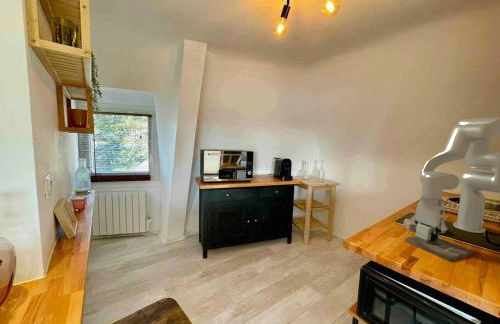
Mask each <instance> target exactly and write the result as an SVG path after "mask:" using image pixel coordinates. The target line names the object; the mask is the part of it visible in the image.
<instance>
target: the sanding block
mask: <svg viewBox="0 0 500 324" xmlns="http://www.w3.org/2000/svg"><path fill="white" fill-rule="evenodd" d="M439 229H440V226H439ZM431 233H433V231H432V226H429V225H426V224H423V223H422V224H417V227H416V231H415V235H414V236H415V239H417V240H420V241H422V242H424V243H431V242H432V241H431ZM439 235H440V234H439V233H438V238H440V237H439ZM438 238H437V240H436V241H438ZM433 242H435V241H433Z"/></svg>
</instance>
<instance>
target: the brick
mask: <svg viewBox="0 0 500 324" xmlns="http://www.w3.org/2000/svg"><path fill="white" fill-rule="evenodd" d="M403 227H405V228H406V229H407V231H411V232H416V227H417V225H416V224H415V222H414V221H413V220H412V218H405V219H404V220H403ZM440 228H441V226H440ZM446 232H447V230H445V231H442V232H440V233H441V234H442V235H443V234H446ZM441 234H440V235H441Z"/></svg>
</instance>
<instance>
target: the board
mask: <svg viewBox="0 0 500 324" xmlns="http://www.w3.org/2000/svg"><path fill="white" fill-rule="evenodd" d="M415 236H416V235H414V236H410V237H405V239H404V242H406V243H408V244H410V245H412V246H414V247H417V248H419V249H422V250H423V251H426V252H428V253H430V254H431V255H435V256H436V257H438V258H441V259H444V260H446V261H448V262H452V261H455V260H459V259H462V258H465V257H470V256H471V255H474V250H472V249H469V248H466V247H464V246H462V245H459V244H456V243H455V242H451V241H449V240H446V239H443V238H442V237H438V241H435V242H431V243H424V242H422V241H420V240H417V239H415Z"/></svg>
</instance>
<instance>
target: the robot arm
mask: <svg viewBox="0 0 500 324" xmlns="http://www.w3.org/2000/svg"><path fill="white" fill-rule="evenodd" d="M498 137H500V117H499V116H498V117H474V118H464V119H461V120H459V121H458V122H457V123H456V125H455V126H454V127H452V129H451V131H450V133H449V135H448V137H447V140H446V142H445V145H444V147H443V149H442V150H441V152H438V153H436V154H435V155H434V156H432V157H431V158H430V159H429V160H427V161H426V163H424V165H423V167H422V170H421V173H420V175H419V181H420V183H421V184H422V185H421V192H420V193H421V194H420V201H418V203H417V206H416V211H415V213H414V215H412V216H411V217H410V219H412V220H413V221H414V222H415V224H416V225H417V224H422V223H423V224H426V225H429V226H432V231H433V233H431V241H432V242H433V241H436V240H437V238H439V237H438V233H440V232H442V231H445V230H446V231H448V227H447V226H446V224H445V216H446V214H445V207H444V205H445V203H446V201H444V200H443V193H444V192H443V191H444V190H445V191H448V190H449V191H451V190H455V189H457V188H458V187H459V185H460V197H459V205H458V212H457V213H458V214H457V221H454V222H453V223H452V226H453V227H454V228H456V229H459V230H462V231H464V232H469V233H473V234H474V233H475V234H484V233H486V228H484V227H483V224H485V221H484V219H483V218H484V211H485V205H486V196H485V194H484V192H490V193H495V194H500V151H491V150H490V149H491V141H493V140H495V139H496V138H498ZM464 158H465V165H466V167H467V168H470V169H474V170H466V171H463V172H462V173H461V175H460V176H458V175H456V174H454V173H449V172H447V173H446V172H443V171H442V172H441V171H435V170H436V169H437V168H438V167H439V166H441V165H444V164H447V163H451V162H455V161H460V160H462V159H464ZM478 170H483V171H478ZM486 171H487V172H486ZM488 171H489V172H488ZM490 171H491V172H490ZM482 191H484V192H482ZM439 226H441V228H440V229H439Z"/></svg>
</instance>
